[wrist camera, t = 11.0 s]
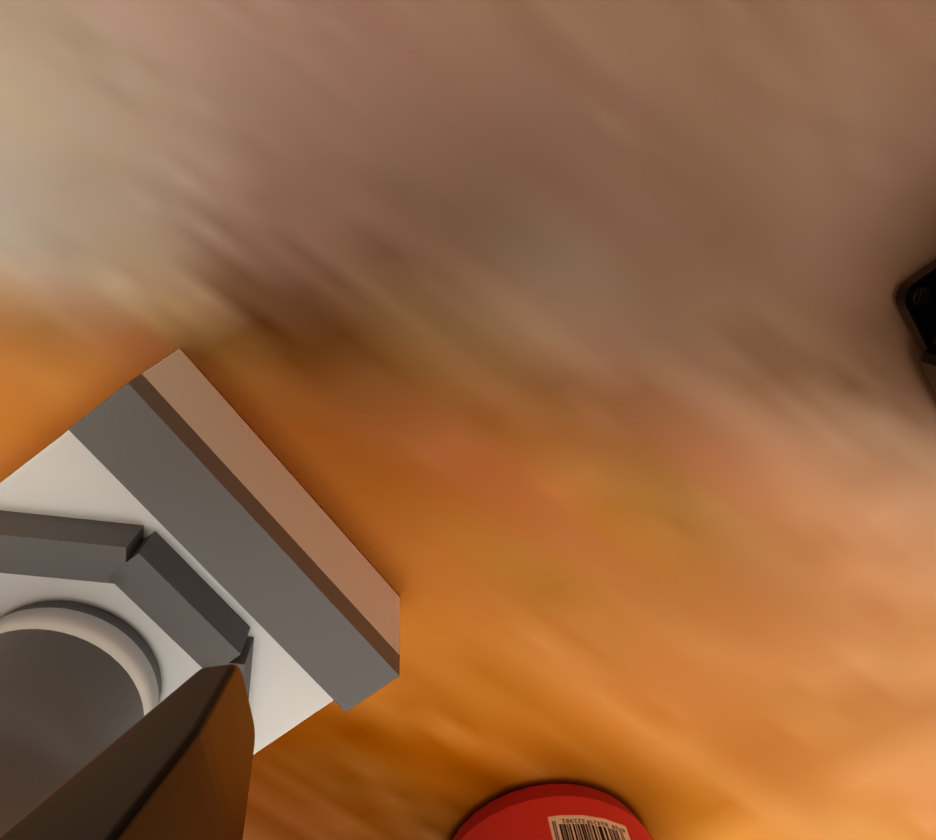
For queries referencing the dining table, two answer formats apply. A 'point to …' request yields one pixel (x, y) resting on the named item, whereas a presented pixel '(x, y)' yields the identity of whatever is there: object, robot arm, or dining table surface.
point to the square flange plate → (200, 550)
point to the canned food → (553, 816)
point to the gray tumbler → (65, 695)
